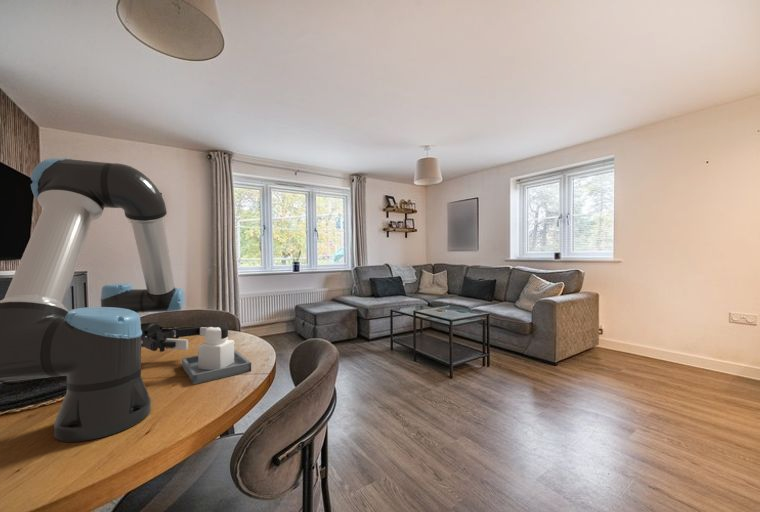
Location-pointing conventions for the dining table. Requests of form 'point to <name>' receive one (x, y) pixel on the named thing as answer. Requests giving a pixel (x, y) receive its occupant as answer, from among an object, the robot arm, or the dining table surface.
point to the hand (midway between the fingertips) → (204, 338)
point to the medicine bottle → (216, 349)
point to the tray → (207, 375)
